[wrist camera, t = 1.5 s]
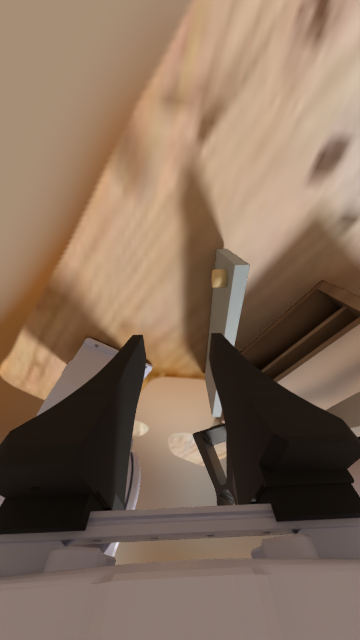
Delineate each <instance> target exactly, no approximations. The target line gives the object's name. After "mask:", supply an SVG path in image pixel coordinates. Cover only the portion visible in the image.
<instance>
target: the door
mask: <svg viewBox="0 0 360 640" xmlns="http://www.w3.org/2000/svg"><path fill="white" fill-rule="evenodd" d="M249 268H250V265H249V264H248V263H247V262H245V261H244V260H242V259H241V258H239V257H238V256H237V255H235V254H234V253H232V252H231V251H229V250H228V249H217V250H216V260H215V270H213V271H212V276H211V283H212V287H213V293H212V304H211V315H210V326H209V337H208V348H207V359H206V370H205V381H206V386H207V391H208V397H209V402H210V408H211V412H212V417H221V412H222V407H221V403H220V400H219V396H218V393H217V390H216V386H215V383H214V379H213V376H212V372H211V367H210V361H209V351H210V341H211V333H222V334H223V336H224V337H225V338H226V339H227V340H228V341H229V342H230V343H231V344H232V345H233V346H234V345H235V340H236V335H237V329H238V324H239V319H240V314H241V309H242V304H243V299H244V293H245V288H246V283H247V278H248V273H249Z"/></svg>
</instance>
